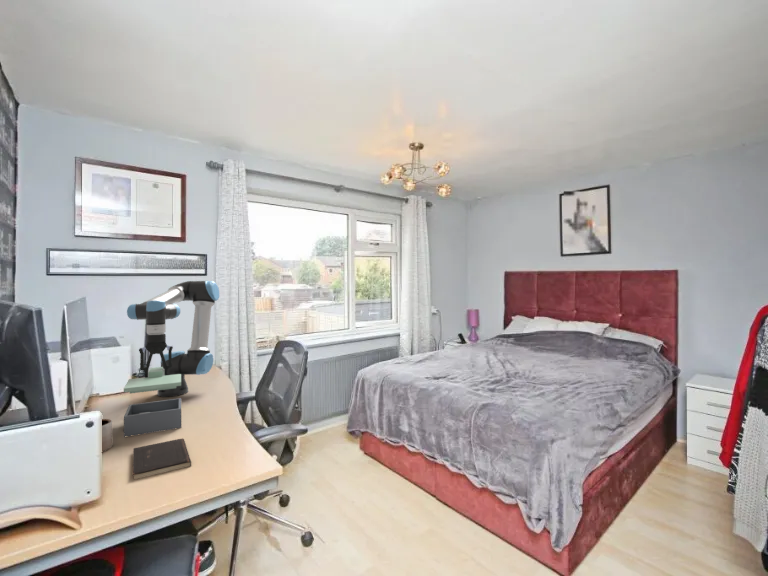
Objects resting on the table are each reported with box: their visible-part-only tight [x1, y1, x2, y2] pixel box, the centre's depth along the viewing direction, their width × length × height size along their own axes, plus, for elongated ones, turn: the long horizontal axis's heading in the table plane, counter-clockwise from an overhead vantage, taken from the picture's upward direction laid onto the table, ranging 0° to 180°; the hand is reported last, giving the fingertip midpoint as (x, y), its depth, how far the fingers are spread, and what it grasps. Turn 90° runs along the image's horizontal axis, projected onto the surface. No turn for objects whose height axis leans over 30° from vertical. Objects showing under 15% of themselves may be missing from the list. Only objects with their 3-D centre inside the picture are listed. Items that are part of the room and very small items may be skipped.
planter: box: [101, 418, 113, 453], centre depth 135 cm, size 11×11×10 cm
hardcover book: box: [132, 437, 192, 480], centre depth 127 cm, size 16×23×2 cm
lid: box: [123, 366, 181, 394], centre depth 164 cm, size 27×20×5 cm
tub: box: [123, 397, 182, 438], centre depth 160 cm, size 18×20×8 cm
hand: (156, 383), depth 172 cm, fingers closed on lid, 5 cm apart
